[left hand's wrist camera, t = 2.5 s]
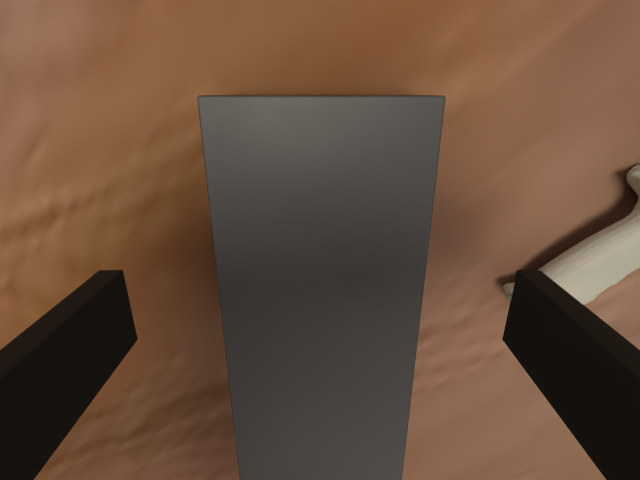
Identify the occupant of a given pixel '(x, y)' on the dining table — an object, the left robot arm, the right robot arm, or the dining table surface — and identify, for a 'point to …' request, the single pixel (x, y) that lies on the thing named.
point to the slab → (321, 273)
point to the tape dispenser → (598, 256)
